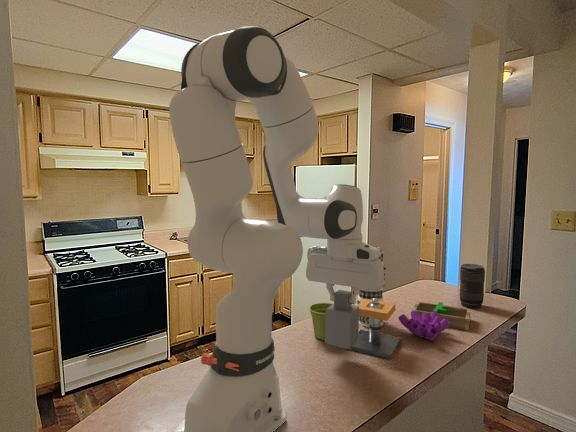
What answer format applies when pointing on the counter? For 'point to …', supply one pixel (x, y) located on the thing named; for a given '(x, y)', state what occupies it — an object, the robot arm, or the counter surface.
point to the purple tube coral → (424, 324)
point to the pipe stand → (376, 338)
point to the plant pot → (319, 318)
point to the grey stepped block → (342, 321)
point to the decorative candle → (370, 296)
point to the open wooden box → (455, 315)
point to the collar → (376, 310)
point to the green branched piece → (441, 309)
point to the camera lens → (472, 285)
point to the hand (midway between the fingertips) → (342, 302)
